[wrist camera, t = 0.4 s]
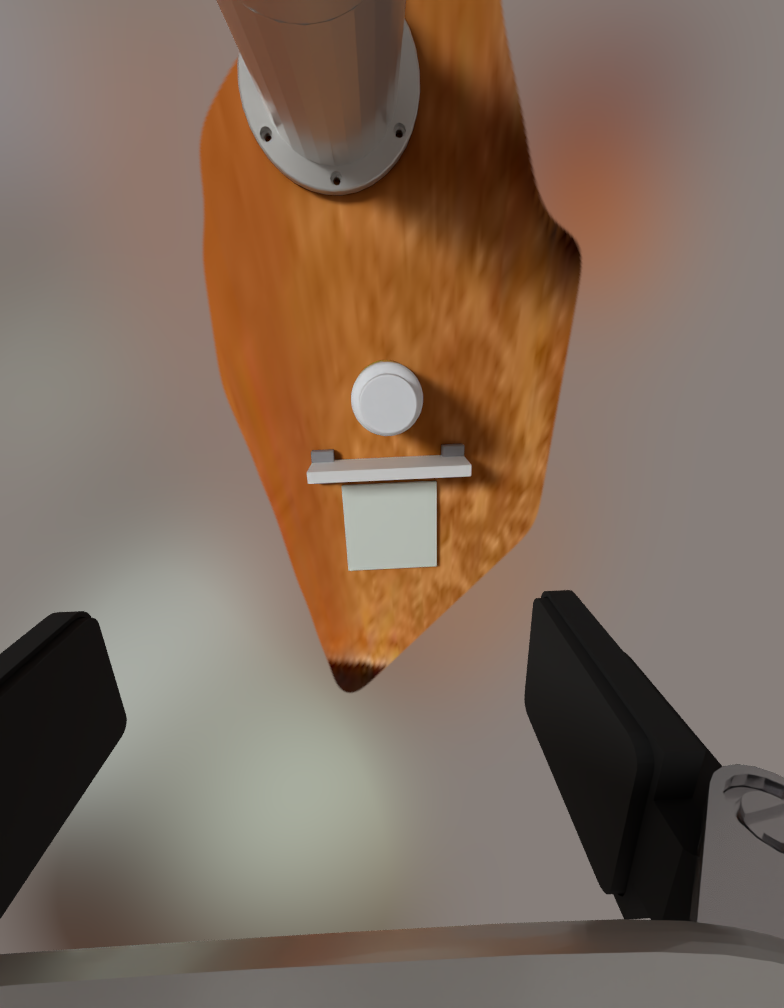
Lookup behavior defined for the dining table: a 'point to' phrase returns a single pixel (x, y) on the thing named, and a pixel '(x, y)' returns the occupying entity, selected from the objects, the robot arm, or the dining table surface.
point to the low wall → (388, 466)
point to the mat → (390, 525)
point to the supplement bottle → (387, 398)
